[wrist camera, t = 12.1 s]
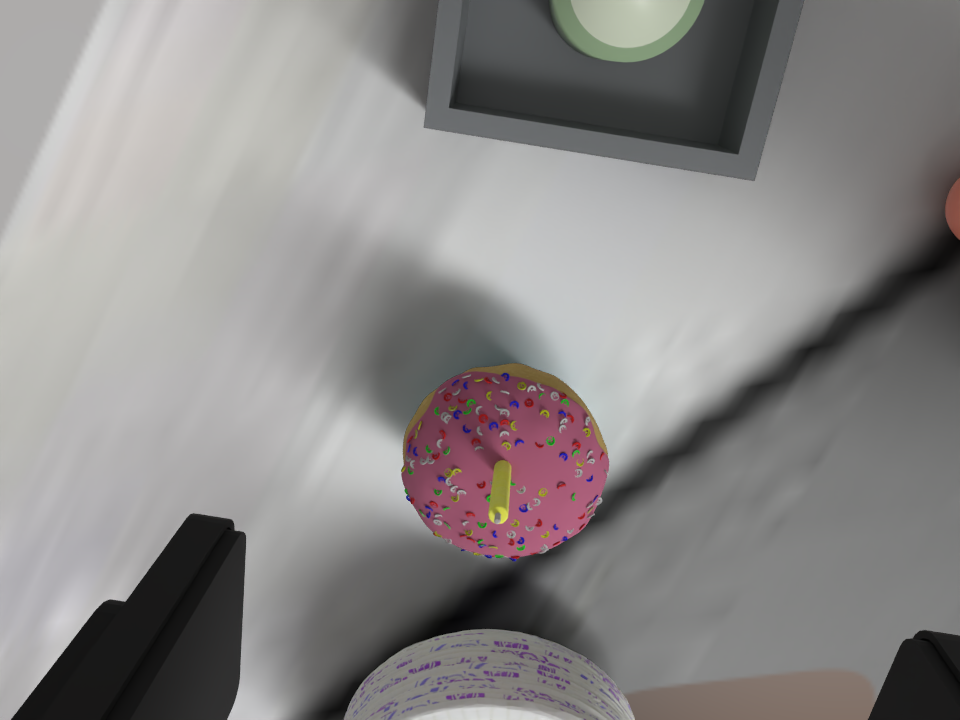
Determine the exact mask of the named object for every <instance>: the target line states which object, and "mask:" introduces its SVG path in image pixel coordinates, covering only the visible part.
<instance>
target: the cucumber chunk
mask: <svg viewBox="0 0 960 720" xmlns="http://www.w3.org/2000/svg"><path fill="white" fill-rule="evenodd" d="M703 4H704V0H549V8H550V14H551V17H552V21H553V23H554V26H555V28H556V30H557V32H558V33H559V35H560V36H561V38H562V39H563V40H564V41H565V42H566V44H567V45H568V46H570V47H571V48H572V49H573V50H575V51H576V52H578V53H580V54H582V55H584V56H587V57H589V58H593V59H599V60H608V61H616V62H636V61H642V60H646V59H649V58H652V57H655V56H657V55H659V54H661V53H663V52H665V51H666V50H668V49H669V48H671V47H672V46H673V45H675V44H676V43H677V42H678V41H679V40H680V39H681V38H682V37H683V36H684V35H685V34H686V33H687V32H688V31H689V29H690V28H691V26H692V25H693V24H694V22H695V20H696V19H697V17H698V15H699V13H700V11H701V8H702V6H703Z"/></svg>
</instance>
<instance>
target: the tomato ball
mask: <svg viewBox="0 0 960 720" xmlns="http://www.w3.org/2000/svg"><path fill="white" fill-rule="evenodd" d="M945 215H946V220H947V223H948V225H949V228H950V229H951V231H952V232H953V234H954V235H955V236H956V237H957V238H958V239H959V240H960V177H959V178H958V180H957V181H956V182H955V183H954V185H953V186H952V188H951V189H950V191H949V194H948V196H947V200H946V205H945Z"/></svg>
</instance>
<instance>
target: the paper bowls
mask: <svg viewBox="0 0 960 720" xmlns="http://www.w3.org/2000/svg"><path fill="white" fill-rule="evenodd" d="M344 720H635V718H634V716H633V713H632V711H631V708H630V706H629V704H628V702H627V699H626V698H625V697H624V696H623V694H622V692H621V690H620V689H619V688H618V687H617V686H616V684H615V682H614V681H613V680H611V679H610V678H609V676H608V675H607V674H606V673H605V672H604V671H603V670H601V669H600V668H599V667H598V666H596V665H595V664H594V663H593V662H591V661H590V660H589V659H587V658H586V657H585V656H583V655H580V654H578V653H576V652H574V651H572V650H570V649H568V648H566V647H564V646H562V645H560V644H558V643H555V642H552V641H549V640H546V639H542V638H540V637H537V636H535V635H529V634H525V633H522V632H515V631H507V630H497V629H476V630H465V631H460V632H456V633H450V634H445V635H440V636H437V637H433V638H431V639H428V640H425V641H422V642H419V643H416V644H413V645H411V646H409V647H406V648H405V649H403V650H401V651H400V652H398V653H396V654H395V655H394V656H392V657H390V658H389V659H388V660H387V661H386V662H384V663H383V664H381V665H380V666H379V667H378V668H377V669H375V670H374V671H373V672H372V673H371V674H370V675H369V676H368V677H367V678H366V679H365V680H364V681H363V682H362V684H361V685H360V687H359V688H358V690H357V691H356V693H355V695H354V696H353V698H352V700H351V702H350V704H349V706H348V709H347V712H346V714H345V717H344Z"/></svg>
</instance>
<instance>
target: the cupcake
mask: <svg viewBox="0 0 960 720" xmlns="http://www.w3.org/2000/svg"><path fill="white" fill-rule="evenodd" d="M403 460H404V466H403V468H402V470H401V472H402V474H401V475H402V480H403V484H404V486H405V493H406V494H407V496H406V498H407V500H408V501H410V502H411V504H413V506H414V507H415V509H416V511H417V512H418V514H419V516H420V517H421V519H422V520H423V522H424V523H425V524H426V525H427V527H428V528H429V529H430V530H432V531H433V532H434V533H433V534H434V535H435V536H438V537H441V538H443V539H445V541H446V542H447V543H448V544H451V543H452V544H454V545H455V546H457V547H460V548H462V550H461V551H464V550H467V551H470V552H473V554H474V555H481V556H486V557H487V558H492V557H496V558H506V557H509V558H510V559H511V560H512V561H516V559H517V558H519V557H520V556H527V555H532V554H536V553H544V552H546V551H547V550H549V549H551V548H553V547H555V546H557V545H559V544H560V543H562V542H564V541H566V540H567V539H569V538H570V537H572V536H574V535H575V534H577V533H579V532H580V531H581V530H582V529H583V528H584V527H585V526H586V525H587V523H588V522H589V520H590V518H591V517H592V516H593V515H595V513H594V511H595V509H596V507H597V505H599V504H600V503H601V502H602V498H600V496H601V494H602V491H603V488H604V485H605V481H606V478H607V475H608V476H609V474H608V470H609V459H608V453H607V448H606V445H605V443H604V441H603V438H602V435H601V433H600V430H599V428H598V426H597V423H596V422H595V420H594V418H593V416H592V414H591V413H590V411H589V409H588V408H587V406H586V405H585V403H584V402H583V401H582V400H581V398H580V397H579V396H578V395H577V394H576V393H575V392H574V391H573V390H572V389H571V388H570V387H569V386H568V385H567V384H565V383H564V382H563V381H561V380H560V379H559V378H557V377H555V376H554V375H551V374H549V373H546V372H542V371H539V370H536V369H534V368H531V367H529V366H526V365H523V364H518V363H510V364H504V365H498V366H492V367H476V368H472V369H469V370H467V371H465V372H464V373H462V374H460V375H457V376H455V377H453V378H451V379H449V380H447V381H446V382H444V383H443V384H442V385H441V386H440V387H438V388H437V389H436V390H434V391H433V392H432V393H430V394H429V395H428V396H427V397H426V398H425V399H424V400H423V401H422V403H421V404H420V406H419V408H418V410H417V411H416V413H415V415H414V416H413V418H412V420H411V421H410V423H409V425H408V427H407V429H406V432H405V436H404V442H403ZM408 497H409V498H408ZM599 499H600V501H599ZM482 554H483V555H482ZM489 556H490V557H489Z"/></svg>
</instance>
